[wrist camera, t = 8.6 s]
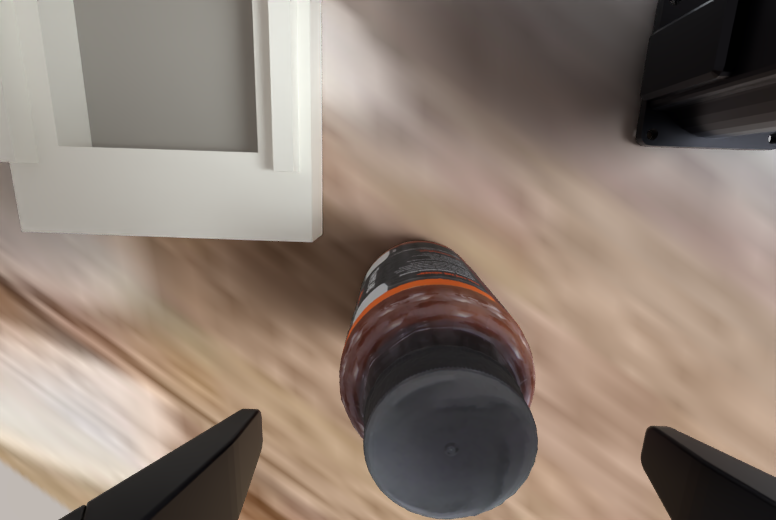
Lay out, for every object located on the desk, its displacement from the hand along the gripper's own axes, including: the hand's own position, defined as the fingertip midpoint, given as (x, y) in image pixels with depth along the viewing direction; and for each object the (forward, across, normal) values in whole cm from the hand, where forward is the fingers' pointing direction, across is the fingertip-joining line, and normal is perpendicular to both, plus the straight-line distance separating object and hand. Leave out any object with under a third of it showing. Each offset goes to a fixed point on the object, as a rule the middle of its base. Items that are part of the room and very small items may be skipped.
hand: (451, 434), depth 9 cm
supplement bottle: (+11, 0, 0) cm, 11 cm away
